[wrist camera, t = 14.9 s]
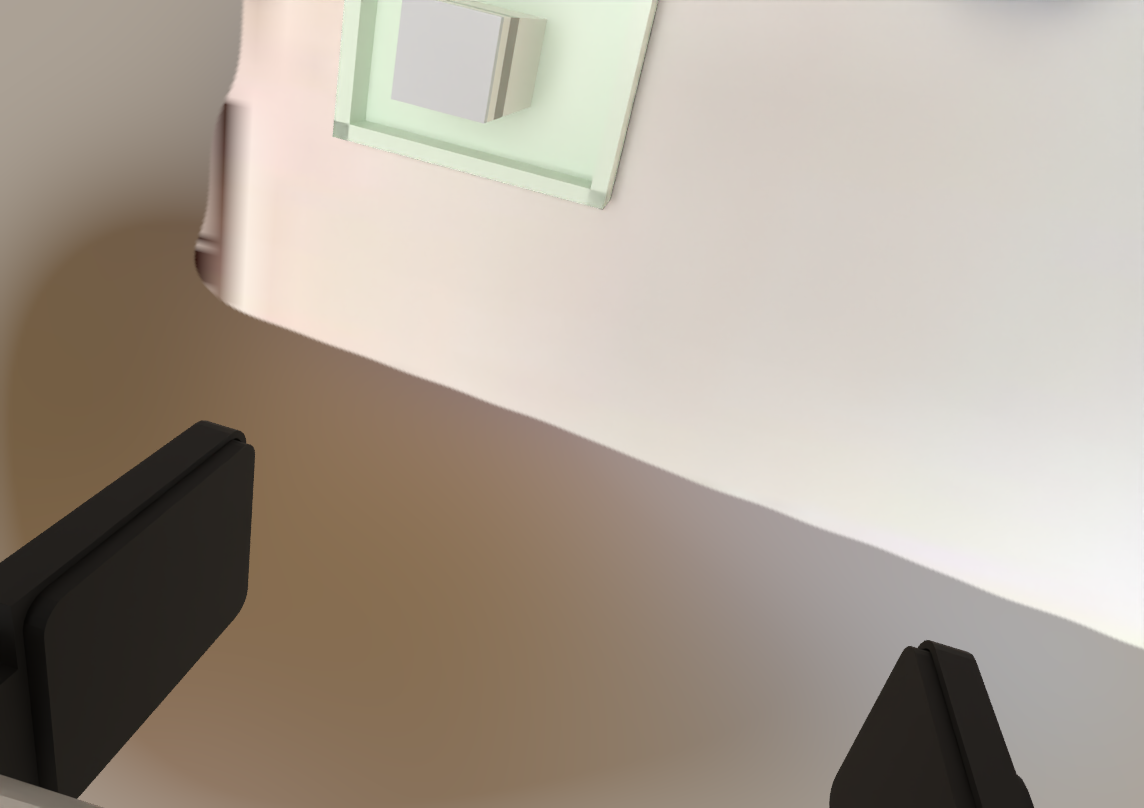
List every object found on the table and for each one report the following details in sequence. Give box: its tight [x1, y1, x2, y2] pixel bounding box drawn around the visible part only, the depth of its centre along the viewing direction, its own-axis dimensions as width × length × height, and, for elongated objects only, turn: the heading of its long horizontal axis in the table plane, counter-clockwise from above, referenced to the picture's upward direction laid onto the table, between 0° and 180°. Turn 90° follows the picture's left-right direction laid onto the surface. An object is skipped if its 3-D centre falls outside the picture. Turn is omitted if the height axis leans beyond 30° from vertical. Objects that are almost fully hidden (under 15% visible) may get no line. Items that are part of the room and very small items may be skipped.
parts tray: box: [333, 0, 659, 210], centre depth 39 cm, size 14×11×2 cm
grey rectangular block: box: [391, 0, 547, 123], centre depth 36 cm, size 4×4×8 cm
